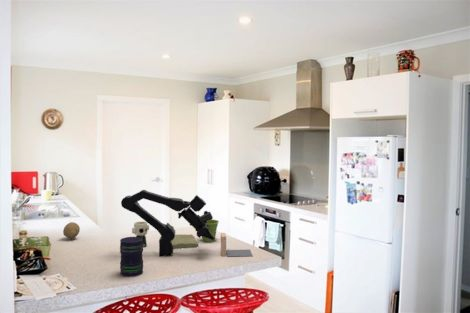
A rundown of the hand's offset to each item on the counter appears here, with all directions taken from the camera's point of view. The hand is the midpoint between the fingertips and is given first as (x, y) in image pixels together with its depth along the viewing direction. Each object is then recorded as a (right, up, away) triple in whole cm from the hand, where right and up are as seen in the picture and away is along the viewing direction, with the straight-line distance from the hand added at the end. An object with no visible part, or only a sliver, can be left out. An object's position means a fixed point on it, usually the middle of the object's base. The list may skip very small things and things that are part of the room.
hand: (213, 239), depth 204 cm
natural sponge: (-84, -6, +27) cm, 88 cm away
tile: (+5, -8, +1) cm, 9 cm away
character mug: (-41, -7, +14) cm, 43 cm away
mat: (+13, -8, +2) cm, 15 cm away
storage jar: (-34, -9, -29) cm, 46 cm away
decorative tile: (-20, -7, +20) cm, 29 cm away
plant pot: (-4, -7, +27) cm, 28 cm away
